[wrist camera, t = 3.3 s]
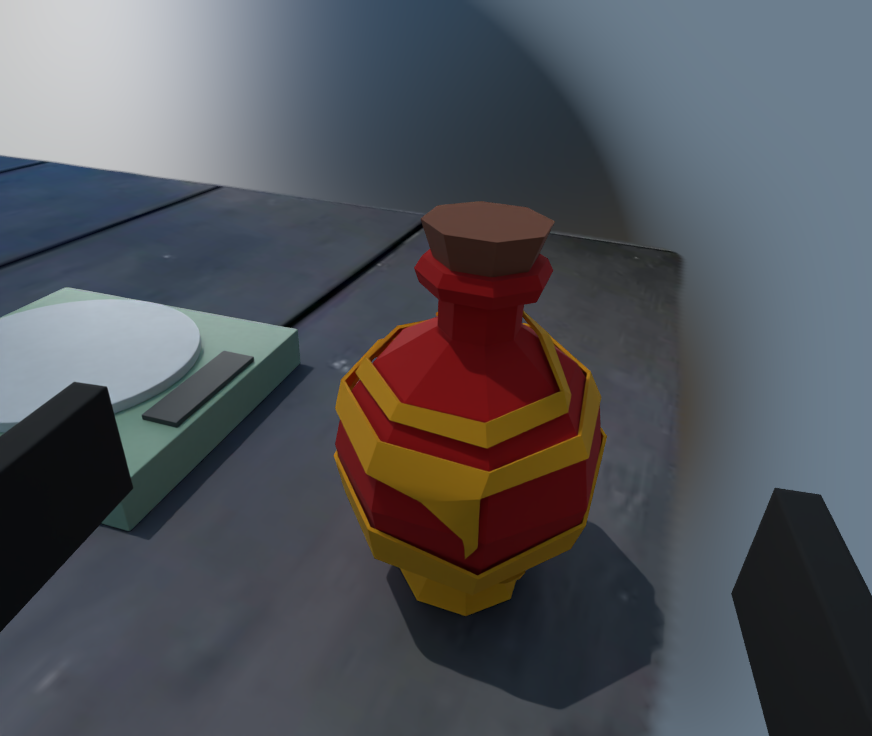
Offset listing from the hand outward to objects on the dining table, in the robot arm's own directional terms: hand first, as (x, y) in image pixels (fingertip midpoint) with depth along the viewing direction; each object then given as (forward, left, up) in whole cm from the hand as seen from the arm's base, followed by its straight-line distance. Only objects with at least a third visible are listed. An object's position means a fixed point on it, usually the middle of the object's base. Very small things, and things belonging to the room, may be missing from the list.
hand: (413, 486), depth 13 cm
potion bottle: (-5, -8, -12) cm, 16 cm away
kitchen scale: (+12, -25, -12) cm, 31 cm away
